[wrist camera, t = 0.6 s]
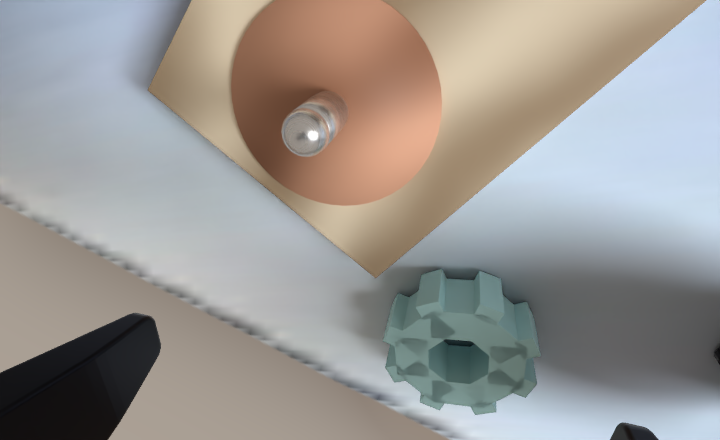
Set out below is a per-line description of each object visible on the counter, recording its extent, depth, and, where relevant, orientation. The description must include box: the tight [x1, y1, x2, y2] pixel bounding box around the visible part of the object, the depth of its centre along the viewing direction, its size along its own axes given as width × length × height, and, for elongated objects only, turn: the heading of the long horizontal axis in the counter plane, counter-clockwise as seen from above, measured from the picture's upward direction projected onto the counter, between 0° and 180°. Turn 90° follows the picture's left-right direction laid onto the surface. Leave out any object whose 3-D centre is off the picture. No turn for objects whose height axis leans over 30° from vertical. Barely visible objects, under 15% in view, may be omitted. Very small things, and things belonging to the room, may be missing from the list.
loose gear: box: [383, 269, 541, 415], centre depth 21 cm, size 7×7×2 cm
